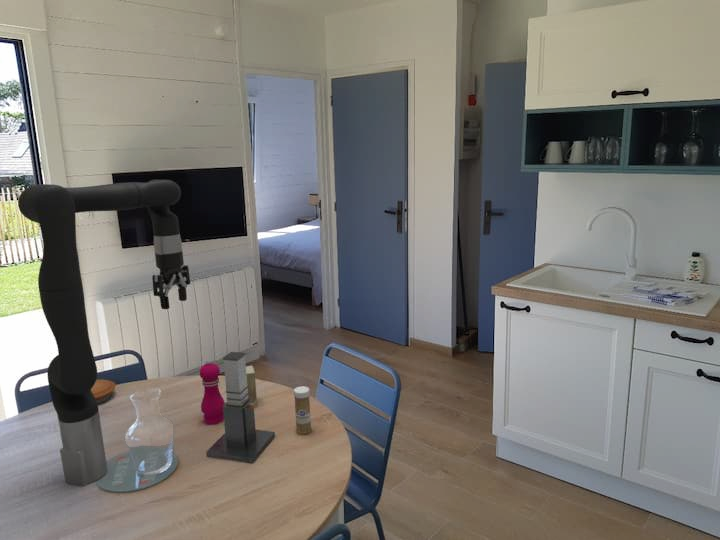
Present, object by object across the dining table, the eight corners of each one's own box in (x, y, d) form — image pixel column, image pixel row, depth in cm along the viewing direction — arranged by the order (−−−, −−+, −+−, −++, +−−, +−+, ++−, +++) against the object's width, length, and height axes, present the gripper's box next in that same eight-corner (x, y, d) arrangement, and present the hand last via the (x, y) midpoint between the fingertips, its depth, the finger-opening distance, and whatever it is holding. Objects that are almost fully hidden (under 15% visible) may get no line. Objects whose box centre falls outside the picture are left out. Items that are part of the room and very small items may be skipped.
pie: (126, 391, 191) (125, 378, 190) (93, 412, 176) (91, 398, 175) (91, 387, 195) (89, 374, 194) (56, 407, 181) (53, 393, 180)
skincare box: (242, 400, 181) (239, 366, 178) (255, 398, 182) (252, 364, 180) (244, 409, 175) (241, 374, 172) (257, 407, 176) (254, 372, 174)
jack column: (243, 427, 149) (237, 359, 145) (228, 425, 150) (222, 357, 146) (250, 419, 153) (245, 353, 149) (236, 417, 155) (230, 351, 150)
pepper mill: (212, 427, 164) (206, 365, 160) (197, 420, 169) (191, 360, 164) (231, 417, 170) (225, 358, 165) (216, 411, 174) (210, 353, 170)
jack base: (252, 463, 145) (249, 417, 142) (206, 456, 149) (202, 411, 146) (275, 436, 158) (272, 393, 155) (232, 430, 162) (228, 389, 159)
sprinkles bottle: (297, 436, 158) (295, 393, 155) (294, 428, 162) (292, 387, 159) (313, 433, 159) (310, 391, 156) (309, 425, 164) (307, 384, 161)
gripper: (172, 245, 163) (177, 297, 167) (141, 254, 150) (147, 311, 153) (194, 246, 161) (199, 298, 164) (164, 255, 147) (170, 312, 151)
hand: (174, 304), depth 159 cm, fingers open, 8 cm apart
